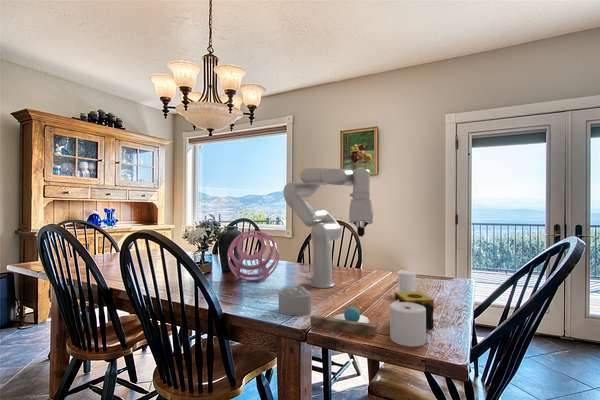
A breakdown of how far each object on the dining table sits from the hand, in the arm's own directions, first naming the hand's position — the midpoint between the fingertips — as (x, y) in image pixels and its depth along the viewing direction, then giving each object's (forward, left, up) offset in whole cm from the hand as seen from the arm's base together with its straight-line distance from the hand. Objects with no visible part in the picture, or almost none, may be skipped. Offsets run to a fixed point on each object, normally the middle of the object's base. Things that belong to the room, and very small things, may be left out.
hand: (360, 236), depth 151 cm
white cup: (+19, +8, -27) cm, 34 cm away
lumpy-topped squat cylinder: (-18, -32, -27) cm, 46 cm away
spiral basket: (-61, +4, -27) cm, 67 cm away
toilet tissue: (+24, -43, -27) cm, 56 cm away
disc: (+4, -34, -27) cm, 43 cm away
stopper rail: (+4, -44, -27) cm, 51 cm away
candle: (+25, -29, -27) cm, 47 cm away
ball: (+5, -36, -24) cm, 44 cm away
